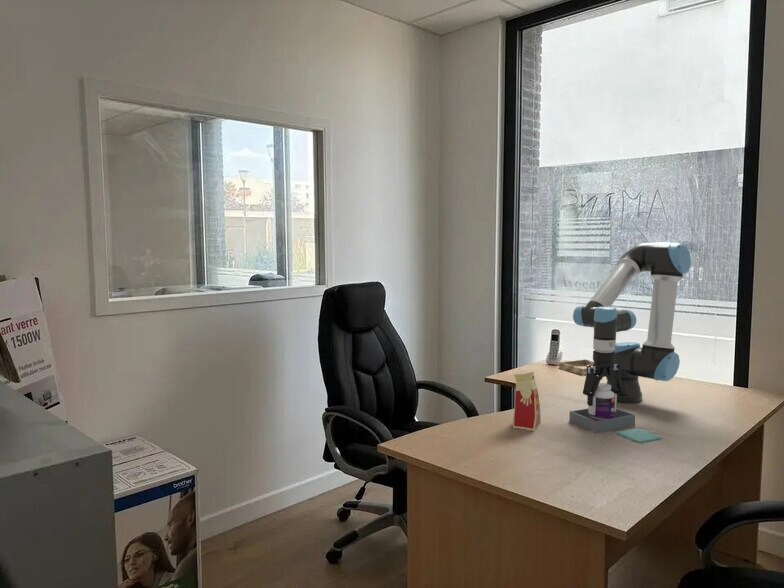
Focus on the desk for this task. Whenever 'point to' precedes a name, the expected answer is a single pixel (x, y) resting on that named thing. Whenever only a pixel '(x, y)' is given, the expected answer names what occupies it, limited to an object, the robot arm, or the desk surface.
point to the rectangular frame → (618, 422)
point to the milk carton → (526, 403)
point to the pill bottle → (603, 403)
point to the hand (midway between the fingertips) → (602, 412)
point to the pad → (639, 435)
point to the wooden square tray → (571, 365)
